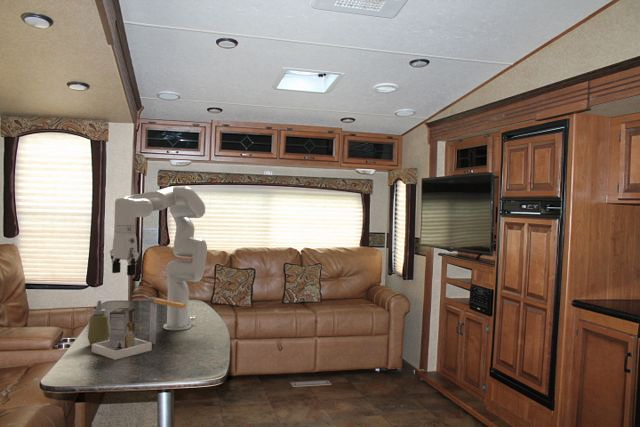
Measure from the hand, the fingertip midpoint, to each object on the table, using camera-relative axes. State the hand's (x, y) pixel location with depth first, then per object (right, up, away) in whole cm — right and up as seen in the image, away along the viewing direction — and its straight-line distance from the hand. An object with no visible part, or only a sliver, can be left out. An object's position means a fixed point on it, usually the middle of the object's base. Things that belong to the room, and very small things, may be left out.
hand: (123, 274), depth 191 cm
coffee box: (-1, -30, 0) cm, 30 cm away
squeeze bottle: (-13, -30, +7) cm, 33 cm away
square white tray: (+1, -30, +3) cm, 30 cm away
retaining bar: (+15, -13, +7) cm, 21 cm away
